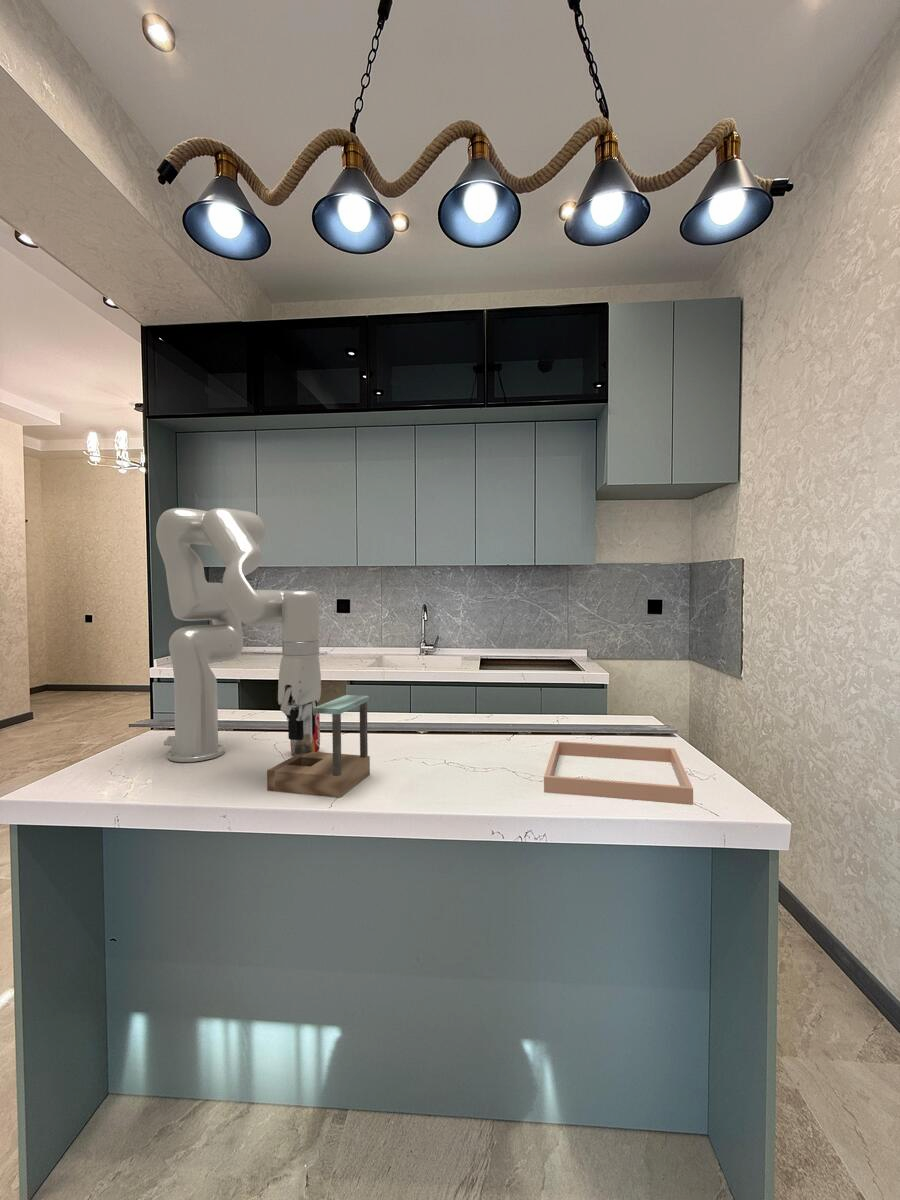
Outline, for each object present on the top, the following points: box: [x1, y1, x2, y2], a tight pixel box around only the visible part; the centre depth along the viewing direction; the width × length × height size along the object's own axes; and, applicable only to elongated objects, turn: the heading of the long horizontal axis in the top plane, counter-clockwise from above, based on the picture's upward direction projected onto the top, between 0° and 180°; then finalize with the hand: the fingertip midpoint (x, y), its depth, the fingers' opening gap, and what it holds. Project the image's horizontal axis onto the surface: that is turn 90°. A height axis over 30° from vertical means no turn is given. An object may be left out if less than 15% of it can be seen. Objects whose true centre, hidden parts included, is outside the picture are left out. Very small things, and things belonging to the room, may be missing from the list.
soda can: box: [289, 713, 321, 756], centre depth 136 cm, size 7×7×12 cm
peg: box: [292, 702, 312, 755], centre depth 116 cm, size 4×4×10 cm
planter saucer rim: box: [543, 740, 694, 806], centre depth 118 cm, size 27×27×3 cm
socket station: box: [266, 694, 371, 798], centre depth 115 cm, size 16×14×17 cm
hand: (302, 735), depth 116 cm, fingers closed on peg, 4 cm apart
